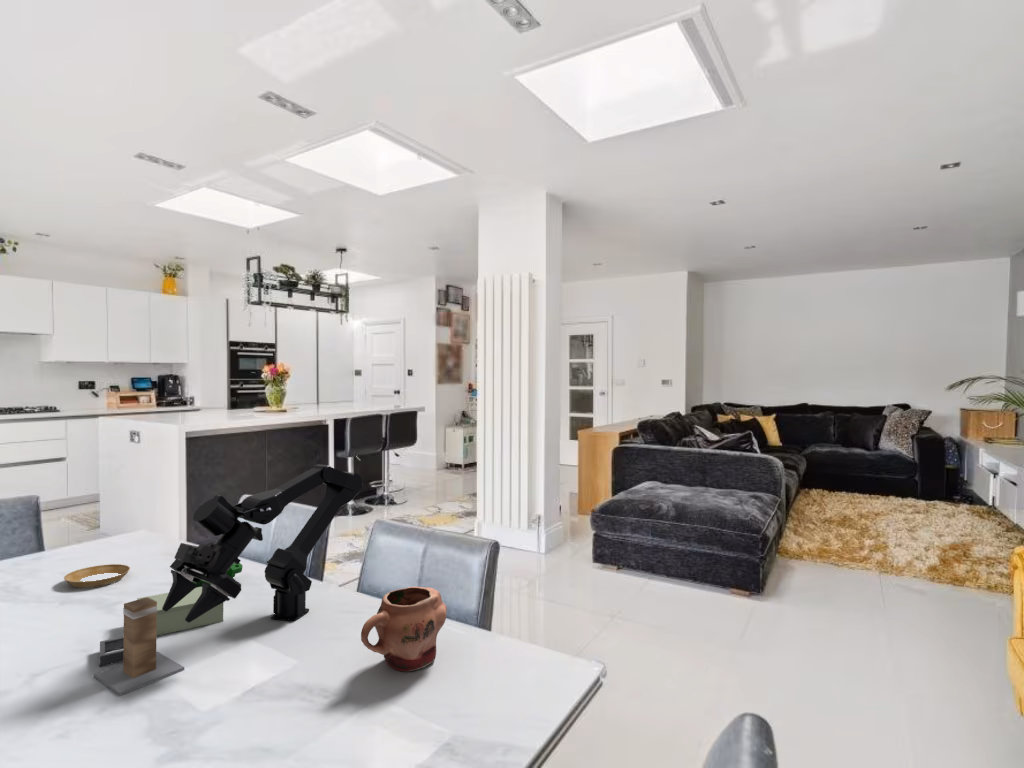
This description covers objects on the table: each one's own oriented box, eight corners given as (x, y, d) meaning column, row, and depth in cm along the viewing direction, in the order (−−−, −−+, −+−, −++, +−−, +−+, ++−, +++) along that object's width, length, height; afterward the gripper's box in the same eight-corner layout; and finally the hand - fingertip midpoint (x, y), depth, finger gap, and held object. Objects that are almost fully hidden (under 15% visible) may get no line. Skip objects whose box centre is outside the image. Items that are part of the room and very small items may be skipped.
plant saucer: (73, 576, 159) (73, 567, 159) (135, 570, 165) (135, 561, 165) (55, 594, 146) (55, 584, 146) (123, 587, 152) (123, 577, 152)
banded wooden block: (146, 663, 110) (147, 596, 110) (156, 669, 108) (157, 601, 108) (122, 671, 107) (123, 603, 107) (132, 678, 104) (133, 608, 104)
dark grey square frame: (143, 641, 120) (143, 632, 120) (146, 655, 114) (146, 646, 114) (99, 651, 115) (99, 641, 115) (99, 666, 109) (99, 656, 109)
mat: (157, 653, 115) (157, 651, 115) (184, 669, 109) (184, 667, 109) (94, 677, 106) (94, 674, 106) (119, 695, 99) (119, 692, 99)
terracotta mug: (386, 697, 100) (387, 619, 100) (343, 675, 107) (344, 602, 107) (461, 654, 116) (461, 587, 116) (419, 637, 123) (420, 574, 123)
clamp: (206, 607, 149) (196, 582, 145) (195, 596, 153) (185, 571, 149) (248, 579, 158) (240, 555, 154) (237, 569, 161) (229, 545, 157)
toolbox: (217, 606, 139) (217, 583, 139) (224, 621, 131) (225, 597, 130) (136, 622, 129) (136, 598, 129) (138, 640, 121) (139, 614, 121)
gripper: (179, 520, 122) (122, 586, 113) (226, 534, 111) (167, 608, 102) (215, 547, 128) (164, 611, 119) (263, 562, 118) (210, 634, 109)
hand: (175, 615), depth 112 cm, fingers open, 9 cm apart
